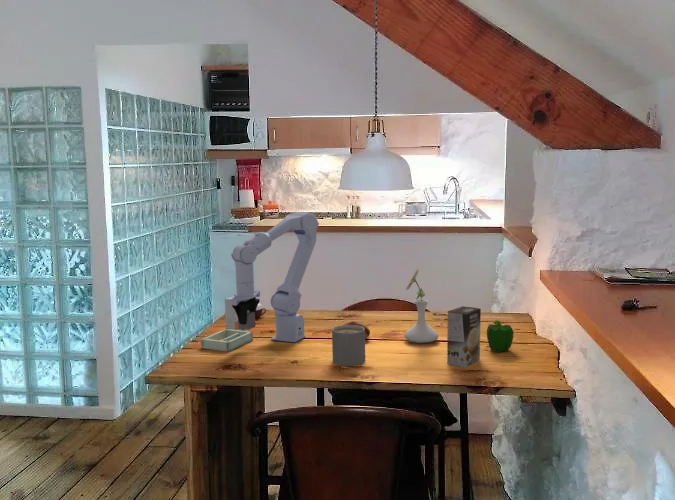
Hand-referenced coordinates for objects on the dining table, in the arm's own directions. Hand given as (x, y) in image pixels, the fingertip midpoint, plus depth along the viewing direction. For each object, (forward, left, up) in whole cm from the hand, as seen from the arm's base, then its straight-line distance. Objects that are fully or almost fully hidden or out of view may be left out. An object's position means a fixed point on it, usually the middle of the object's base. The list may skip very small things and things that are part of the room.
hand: (246, 322), depth 217 cm
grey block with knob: (0, 0, -2) cm, 2 cm away
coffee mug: (-37, -1, -9) cm, 38 cm away
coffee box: (-70, -11, -9) cm, 71 cm away
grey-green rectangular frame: (+8, -1, -8) cm, 12 cm away
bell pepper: (-77, -27, -9) cm, 82 cm away
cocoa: (+20, -35, -9) cm, 41 cm away
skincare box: (+16, -17, -9) cm, 25 cm away
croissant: (-29, -22, -9) cm, 38 cm away
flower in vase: (-51, -27, -9) cm, 58 cm away
